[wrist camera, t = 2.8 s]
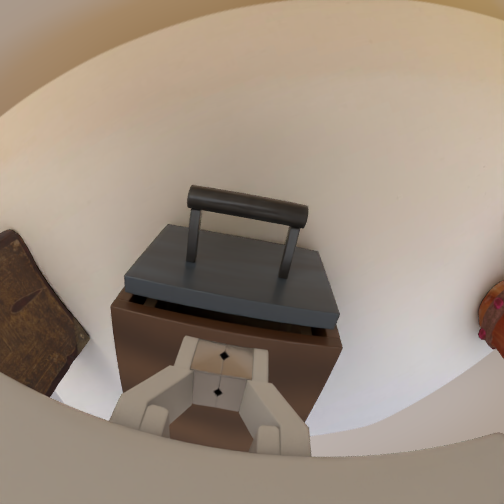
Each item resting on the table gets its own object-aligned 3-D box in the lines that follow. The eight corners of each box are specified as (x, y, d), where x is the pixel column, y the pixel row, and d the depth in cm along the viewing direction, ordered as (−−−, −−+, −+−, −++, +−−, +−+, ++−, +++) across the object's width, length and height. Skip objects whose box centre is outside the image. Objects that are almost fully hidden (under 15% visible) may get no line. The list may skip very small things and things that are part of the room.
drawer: (173, 165, 22) (124, 191, 14) (333, 194, 23) (368, 235, 15) (163, 358, 31) (139, 422, 23) (277, 379, 31) (278, 447, 23)
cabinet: (163, 237, 26) (109, 305, 16) (318, 265, 26) (343, 347, 17) (160, 368, 33) (134, 442, 23) (276, 389, 33) (276, 468, 24)
